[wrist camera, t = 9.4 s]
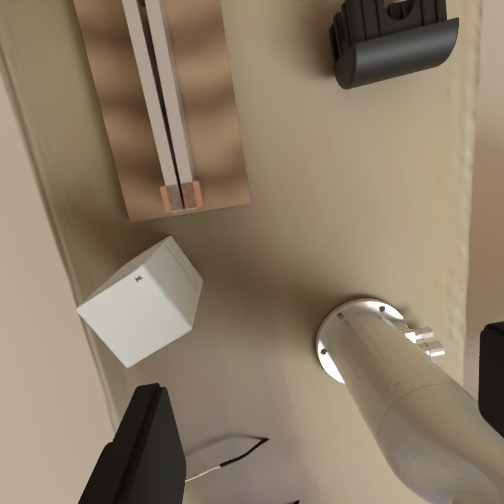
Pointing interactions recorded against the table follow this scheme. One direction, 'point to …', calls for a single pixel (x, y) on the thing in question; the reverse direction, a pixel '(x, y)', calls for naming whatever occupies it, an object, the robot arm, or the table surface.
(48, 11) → the table surface
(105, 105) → the tong board
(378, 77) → the end cap
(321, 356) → the robot arm
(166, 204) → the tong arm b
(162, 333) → the supplement box
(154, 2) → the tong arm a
